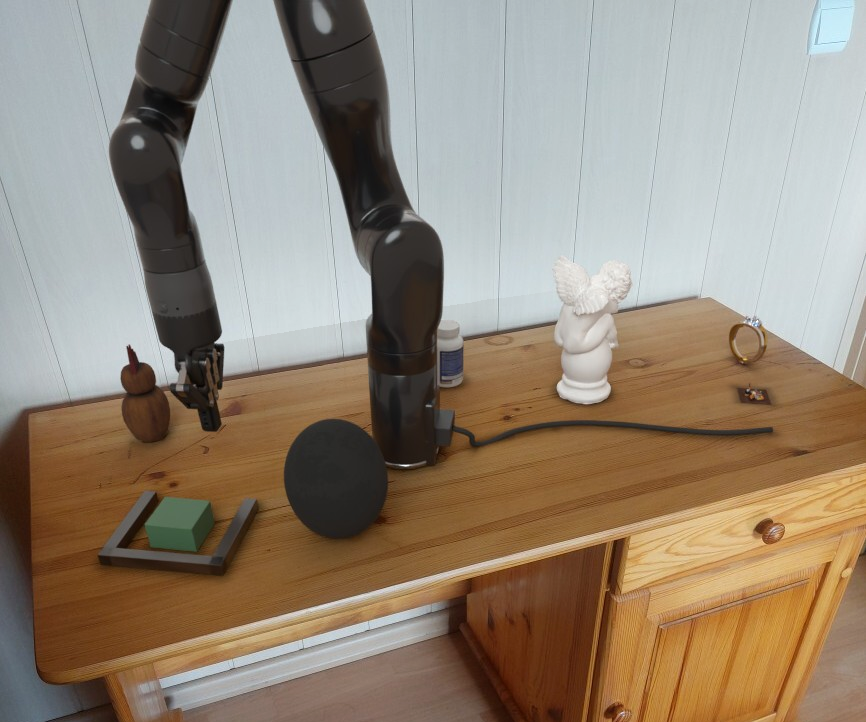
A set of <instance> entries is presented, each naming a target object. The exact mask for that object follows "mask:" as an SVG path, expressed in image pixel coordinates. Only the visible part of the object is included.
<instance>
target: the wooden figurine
mask: <svg viewBox="0 0 866 722" xmlns="http://www.w3.org/2000/svg"><path fill="white" fill-rule="evenodd" d="M125 349H126V352H127V358H128V364H126V365H124V366H123V367H122V369H121V370H120V376H119V377H120V383H121V386H122V389H123V390H124V391H125V392H126V393H125V395H124V397H123V399H122V401H121V415H122V419H123V422H124V424H125V426H126V428H127V429H128V431H129V432H130V433H131V434H132V436H134V438H135V439H136V440H138V441H141V442H144V443H153V442H156V441H159V440H161V439H162V438H164V437H165V436H166V435H167V434H168V432H169V429H170V423H171V407H170V401H169V399H168V397H167V394H165V392H164V390H163V388H161V387H160V386H159V385H157V377H156V373H155V371H154V369H153V367H152V366H151V365H150V364H149V363H148V362H147V363H146V362H142V361H140V360H139V357H138V355H137V353H136V351H135V350H134V348H132V346H131V344H130V343H129V344H128V345H126V348H125Z"/></svg>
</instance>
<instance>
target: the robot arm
mask: <svg viewBox="0 0 866 722" xmlns="http://www.w3.org/2000/svg"><path fill="white" fill-rule="evenodd" d="M233 1H234V0H150V2H149V5H148V9H147V13H146V16H145V20H144V23H143V27H142V30H141V33H140V37H139V42H138V45H137V49H136V54H135V61H134V69H135V74H134V77H133V80H132V82H131V83H132V84H131V87H130V89H129V93H128V96H127V98H126V103H125V105H124V109H123V111H122V113H121V117H120V120H119V123H118V124H117V126H116V127H115V129H114V130H113V131H112V134H111V136H110V138H109V143H108V158H109V164H110V168H111V172H112V176H113V179H114V183H115V185H116V188H117V191H118V193H119V197H120V198H121V201H122V204H123V206H124V208H125V211H126V213H127V214H126V215H127V216H128V218H129V220H130V222H131V225H132V228H133V232H134V233H133V234H134V239H135V242H136V247H137V250H138V255H139V258H140V263H141V267H142V271H143V277H144V278H143V279H144V285H145V291H146V294H147V299H148V302H149V306H150V307H149V308H150V310H151V314H152V317H153V318H152V319H153V322H154V326H155V329H156V334H157V338H158V340H159V343H160V344H161V345H162V346H163V347H165V348H166V349H168V350H170V351H171V352H172V353H173V358H174V359H173V360H174V368H175V371H176V372H177V373H178V375H177V381H176V382H171V383H170V385H169V392H170V393H171V394H172V396H173V397H175V398H176V399H177V400H178V401H179V403H181V404H182V405H183V406H184V407H185V408H186V409H188V410H197V414H198V419H199V421H200V427H201V429H202V431H203V432H208V433H217V432H218V431H219V429H220V428H221V426H223V425H222V424H223V423H222V418H221V415H220V410H219V404H218V401H219V399H220V394H219V391H221V390H222V389H223V385H224V384H223V383H224V380H223V379H224V366H225V365H224V364H225V345H224V343H218V340H219V339H220V338H221V336H222V334H223V327H222V324H221V319H220V314H219V308H218V303H217V299H216V294H215V290H214V284H213V280H212V277H211V273H210V270H209V268H208V265H207V262H206V261H207V260H206V258H205V253H204V248H203V243H202V237H201V233H200V230H199V225H198V222H197V219H196V216H195V215H194V213H193V212H192V211H191V210H190V205H189V201H188V196H187V192H186V187H185V183H184V176H183V170H182V164H183V161H184V157H185V154H186V150H187V147H188V143H189V140H190V136H191V133H192V130H193V129H192V128H193V124H194V121H195V117H196V113H197V109H198V105H199V102H200V100H201V98H202V97H203V95H204V93H205V91H206V88H207V86H208V83H209V81H210V77H211V74H212V71H213V68H214V66H215V62H216V59H217V56H218V52H219V50H220V48H221V47H220V46H221V43H222V40H223V37H224V33H225V31H226V26H227V23H228V19H229V17H230V14H231V13H230V12H231V9H232V5H233ZM272 1H273V5H274V9H275V12H276V16H277V20H278V23H279V27H280V32H281V34H282V37H283V40H284V44H285V47H286V51H287V54H288V57H289V59H290V63H291V66H292V69H293V71H294V75H295V77H296V81H297V83H298V86H299V89H300V91H301V94H302V97H303V100H304V102H305V104H306V107H307V110H308V112H309V114H310V117H311V120H312V122H313V125H314V127H315V130H316V132H317V136H318V137H319V140H320V143H321V145H322V147H323V149H324V151H325V153H326V156H327V158H328V160H329V163H330V164H331V167H332V169H333V172H334V174H335V177H336V181H337V185H338V187H339V190H340V194H341V195H340V196H341V199H342V202H343V206H344V211H345V214H346V219H347V224H348V227H349V232H350V236H351V241H352V245H353V250H354V253H355V256H356V258H357V260H358V263H359V264H360V266H361V268H363V270H364V271H365V272H366V273H367V275H369V277H370V291H371V294H370V295H371V314H369V316H368V317H367V318H366V321H365V341H366V356H367V357H366V358H367V372H368V373H367V374H368V389H369V391H368V392H369V407H370V408H369V409H370V424H371V437H372V438H373V439H374V441H375V442H376V443H377V445H378V447H379V448H380V450H381V452H382V454H383V457H384V460H385V463H386V467H387V468H389V469H394V470H400V471H401V470H404V471H405V470H407V471H408V470H416V469H420V468H423V467H426V466H427V467H429V466H430V467H432V466H435V465H436V461H437V458H438V455H439V451H440V447H441V446H442V447H451V443H452V439H453V435H454V433H457V434H461V435H464V436H466V437H468V439H469V441H468V442H469V445H470V446H472V447H475V448H480V447H484V446H486V445H489V444H492V443H495V442H499V441H501V440H505V439H506V438H509V437H511V436H514V435H518V434H522V433H525V432H526V433H527V432H530V431H537V430H543V429H549V428H559V427H560V428H561V427H573V426H574V427H575V426H578V427H579V426H581V427H583V426H590V427H594V426H595V427H609V428H610V427H611V428H612V427H613V428H614V427H615V428H625V429H626V428H627V429H638V430H646V431H656V432H665V433H677V434H689V435H697V436H698V435H700V436H716V437H717V436H728V437H729V436H746V435H757V434H768V433H769V434H770V433H773V432H774V427H773V426H766V427H765V426H764V427H756V428H745V429H742V428H741V429H703V428H689V427H679V426H669V425H658V424H657V425H656V424H649V423H648V424H647V423H640V422H639V423H638V422H628V421H615V420H614V421H613V420H596V419H595V420H593V419H590V420H589V419H587V420H586V419H572V420H558V421H548V422H547V421H546V422H539V423H536V424H535V423H533V424H529V425H524V426H518V427H516V428H512V429H509V430H507V431H504V432H502V433H500V434H498V435H496V436H494V437H492V438H489V439H486V440H482V441H478V440H476V437H475V436H476V435H475V434H474V433H473V432H471V431H470V430H468V429H467V428H464V427H460V426H456V425H455V424H456V423H455V422H456V421H455V420H456V419H455V417H456V410H455V409H446V408H445V409H444V408H443V409H442V408H441V387H440V386H439V385H437V329H438V326H439V324H440V322H441V320H442V317H443V312H444V311H443V309H444V288H445V287H444V285H445V284H444V283H445V256H444V255H445V254H444V248H443V244H442V240H441V238H440V236H439V233H438V232H437V231H436V229H435V228H434V227H433V226H432V225H430V223H428V222H427V221H426V220H425V219H424V218H422V217H421V216H420V215H419V214H417V212H416V211H415V210H414V208H413V205H412V203H411V201H410V198H409V197H408V194H407V191H406V189H405V186H404V183H403V180H402V177H401V175H400V172H399V169H398V166H397V162H396V159H395V154H394V150H393V144H392V130H391V127H392V125H391V121H392V120H391V101H390V90H389V84H388V78H387V73H386V68H385V65H384V60H383V57H382V53H381V49H380V45H379V43H378V39H377V35H376V32H375V28H374V24H373V22H372V19H371V16H370V13H369V11H368V7H367V4H366V1H365V0H272Z"/></svg>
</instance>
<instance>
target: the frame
mask: <svg viewBox="0 0 866 722" xmlns="http://www.w3.org/2000/svg"><path fill="white" fill-rule="evenodd" d="M159 501H160V500H159V497H158V493H157V491H156V490H144V491H143V492H142V494H141V495H140V496H139V498H138V499H137V501H136V502H135V503H134V505H133V506H132V507H131V509H130V510H129V511H128V512H127V514H126V515H125V517H124V518H123V520H122V521H121V522H120V523H119V525H118V526H117V528H116V529H115V530H114V532H113V533H112V535H111V536H110V537H109V538H108V540H107V541H106V542H105V544H104V545H103V547H101V549H100V550H99V552H98V553H97V558H98V562H99V564H100V566H104V567H105V566H107V567H116V568H117V567H119V568H127V569H128V568H129V569H139V570H140V569H141V570H153V571H163V572H173V573H174V572H175V573H184V574H185V573H187V574H197V575H209V576H220V577H223V576H224V575H225V573H226V572H227V569H228V567H229V565H230V563H231V562H232V560H233V558H234V556H235V554H236V552H237V550H238V548H239V546H240V544H241V543H242V540H243V539H244V537H245V536H246V534H247V531H248V529H249V528H250V526H251V524H252V522H253V520H254V518H255V516H256V514H257V512H258V511H259V505H258V499H257V498H249V497H245V498H244V499H243V500H242V503H241V505H240V506H239V508H238V510H237V512H236V514H235V515H234V517H233V518H232V521H231V522H230V524H229V526H228V528H227V529H226V531H225V533H224V535H223V537H222V538H221V540H220V542H219V543H218V545H217V547H216V549H215V551H214V553H213V555H205V554H204V555H203V554H190V553H181V552H168V551H157V550H147V549H135V548H127V547H128V546H129V544H130V543H131V542H132V540H133V539H134V538H135V536H136V535H137V533H138V532H139V530H140V529H141V527H142V526H143V525H144V524H145V523H146V521H147V520H148V517H149V516H150V515H151V514H152V513H153V510H154V509H155V508H156V507H157V505H158V503H159Z"/></svg>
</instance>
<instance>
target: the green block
mask: <svg viewBox="0 0 866 722" xmlns="http://www.w3.org/2000/svg"><path fill="white" fill-rule="evenodd" d="M149 516H150V517H149V518H147V520H146V521H145V522H144V529H145V532H146V536H147V539H148V543H149V546H150V548H153V549H163V550H173V551H182V552H190V553H191V552H192V553H197V552H198V551H199V549H200V548H201V547H202V545H203V543H204V542H205V540H206V539H207V537H208V535H210V532H211V530H212V528H213V527H214V525H216V524H215V523H216V521H215V517H214V512H213V507H212V503H211V500H206V499H195V498H185V497H184V498H183V497H172V496H164V498H163V499H162V500H161V502H160V503H159V504H158V506H156V507H155V510H154V511H152V513H151V514H150V515H149Z"/></svg>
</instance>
